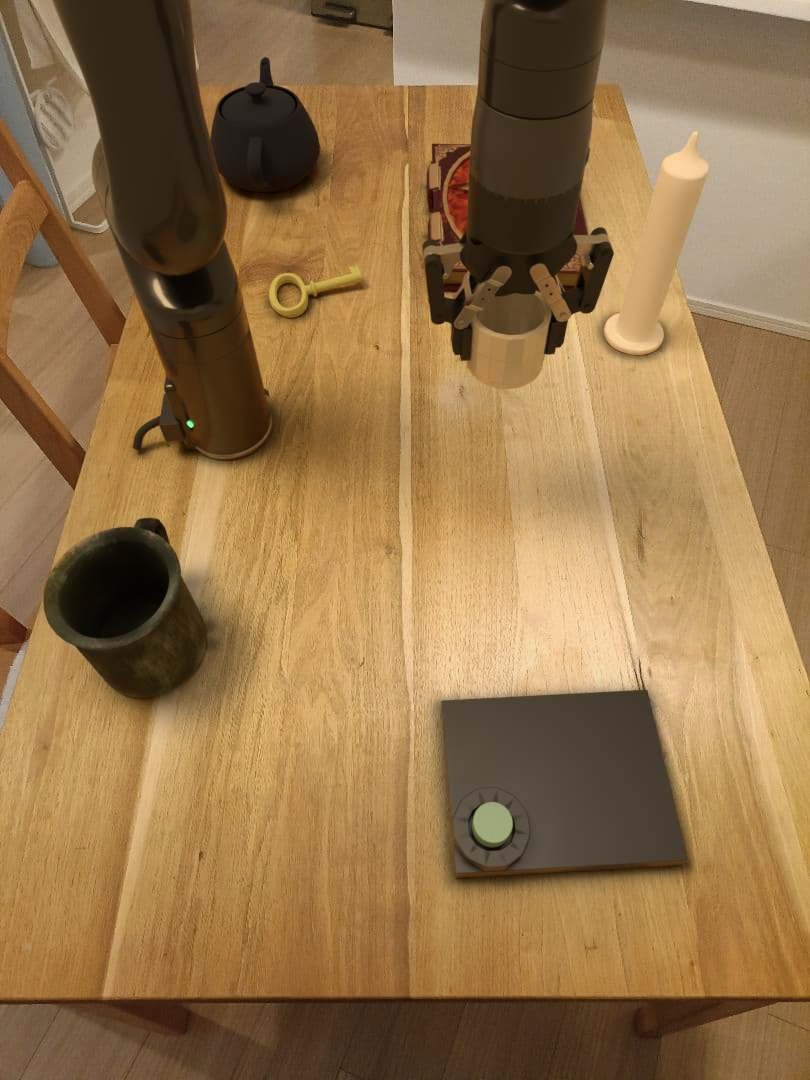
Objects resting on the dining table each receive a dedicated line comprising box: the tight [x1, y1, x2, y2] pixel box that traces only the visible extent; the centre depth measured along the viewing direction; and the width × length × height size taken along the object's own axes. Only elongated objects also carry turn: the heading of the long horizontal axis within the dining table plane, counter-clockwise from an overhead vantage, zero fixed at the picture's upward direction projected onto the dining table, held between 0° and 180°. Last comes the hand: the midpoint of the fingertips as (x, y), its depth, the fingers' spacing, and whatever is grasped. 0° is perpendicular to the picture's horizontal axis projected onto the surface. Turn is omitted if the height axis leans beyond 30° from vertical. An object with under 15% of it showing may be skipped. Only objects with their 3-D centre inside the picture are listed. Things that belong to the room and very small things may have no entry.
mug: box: [42, 517, 208, 698], centre depth 67 cm, size 11×15×12 cm
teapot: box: [210, 56, 321, 194], centre depth 108 cm, size 25×16×12 cm, turn 1°
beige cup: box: [466, 291, 552, 390], centre depth 63 cm, size 6×6×6 cm
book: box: [426, 143, 589, 292], centre depth 104 cm, size 28×21×5 cm
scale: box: [440, 689, 688, 879], centre depth 63 cm, size 18×14×4 cm
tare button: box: [472, 802, 513, 848], centre depth 59 cm, size 3×3×2 cm
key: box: [268, 264, 364, 319], centre depth 98 cm, size 7×12×2 cm, turn 123°
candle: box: [603, 131, 710, 356], centre depth 83 cm, size 7×7×25 cm
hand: (505, 350), depth 64 cm, fingers closed on beige cup, 6 cm apart
